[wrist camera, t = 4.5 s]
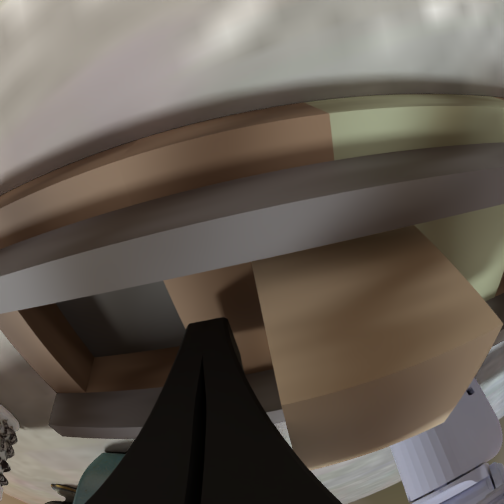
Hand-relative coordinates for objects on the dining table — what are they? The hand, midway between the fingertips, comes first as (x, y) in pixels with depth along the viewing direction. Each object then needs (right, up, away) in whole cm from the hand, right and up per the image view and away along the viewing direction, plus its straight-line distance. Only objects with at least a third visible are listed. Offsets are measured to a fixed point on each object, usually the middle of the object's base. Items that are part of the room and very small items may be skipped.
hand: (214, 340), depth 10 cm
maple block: (+4, +1, +1) cm, 4 cm away
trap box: (+5, +3, +3) cm, 6 cm away
